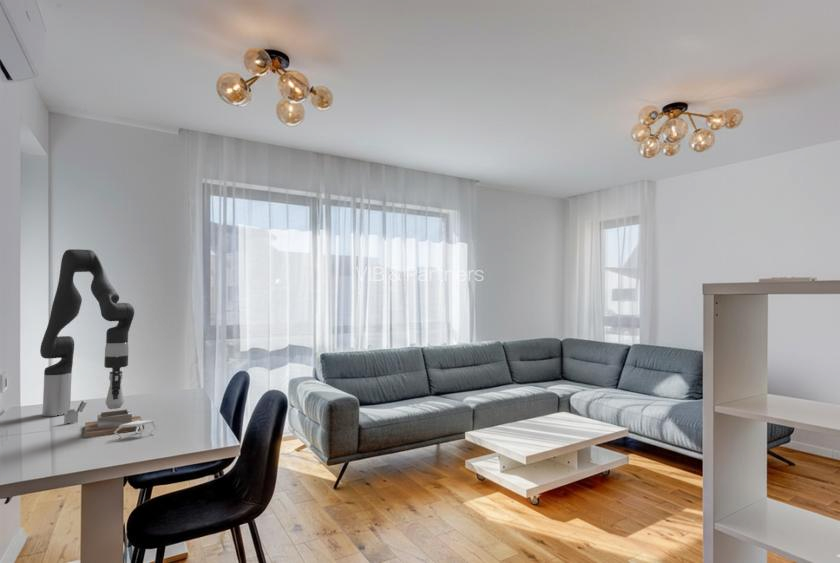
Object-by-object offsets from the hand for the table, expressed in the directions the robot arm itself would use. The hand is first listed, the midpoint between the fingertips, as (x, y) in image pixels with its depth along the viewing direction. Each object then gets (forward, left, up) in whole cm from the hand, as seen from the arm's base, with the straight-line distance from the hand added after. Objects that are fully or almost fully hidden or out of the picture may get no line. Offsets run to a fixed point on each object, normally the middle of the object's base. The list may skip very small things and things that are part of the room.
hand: (114, 399), depth 170 cm
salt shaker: (0, 0, -3) cm, 3 cm away
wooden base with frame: (0, 0, -11) cm, 11 cm away
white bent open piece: (+16, +5, -11) cm, 21 cm away
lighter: (-19, -12, -11) cm, 25 cm away
